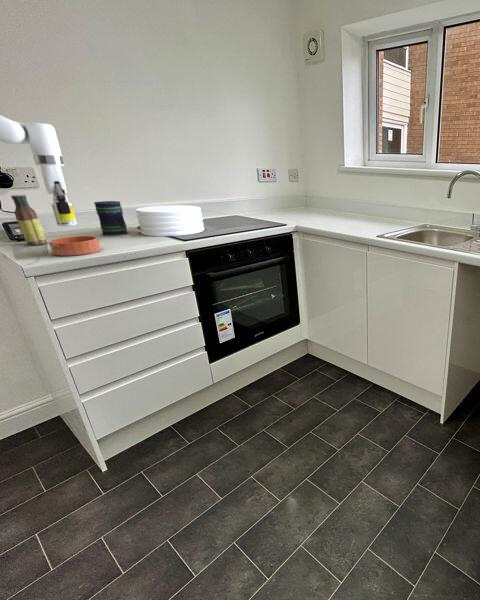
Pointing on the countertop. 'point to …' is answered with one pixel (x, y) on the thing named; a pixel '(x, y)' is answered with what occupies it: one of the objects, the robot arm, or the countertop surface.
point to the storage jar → (111, 218)
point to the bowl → (74, 245)
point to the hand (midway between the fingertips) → (63, 212)
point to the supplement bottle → (64, 215)
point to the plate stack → (170, 220)
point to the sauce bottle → (28, 221)
